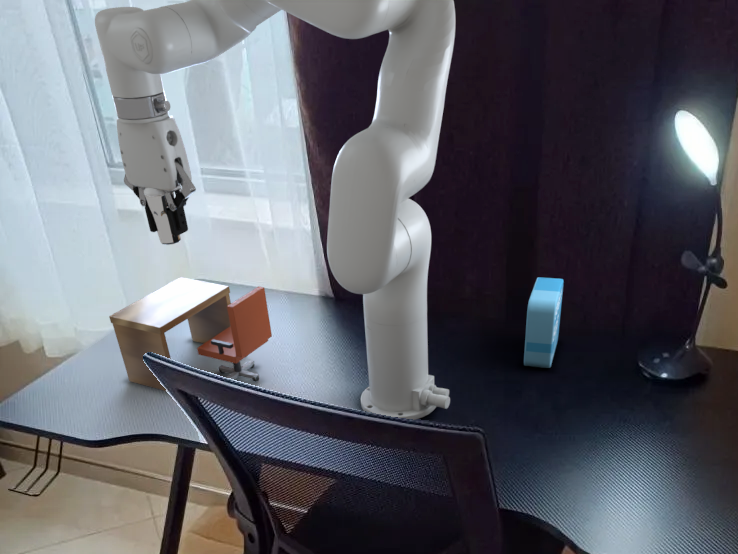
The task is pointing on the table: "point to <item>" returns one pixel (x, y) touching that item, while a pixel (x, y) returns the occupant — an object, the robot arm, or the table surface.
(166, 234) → the milkshake
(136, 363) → the desk
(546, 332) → the data package
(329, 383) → the table surface
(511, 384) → the table surface
